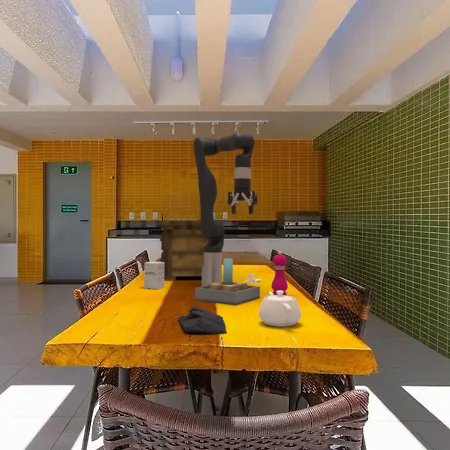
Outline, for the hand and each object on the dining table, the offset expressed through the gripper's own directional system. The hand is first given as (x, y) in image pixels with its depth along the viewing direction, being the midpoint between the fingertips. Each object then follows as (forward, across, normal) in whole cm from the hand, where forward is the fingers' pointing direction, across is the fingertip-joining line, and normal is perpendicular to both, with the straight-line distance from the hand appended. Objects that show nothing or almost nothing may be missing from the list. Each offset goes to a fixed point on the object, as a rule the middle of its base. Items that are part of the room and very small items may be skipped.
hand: (242, 214), depth 199 cm
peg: (+33, -1, +13) cm, 36 cm away
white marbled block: (+36, +44, +9) cm, 58 cm away
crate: (+36, +55, -34) cm, 74 cm away
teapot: (+36, -38, +40) cm, 66 cm away
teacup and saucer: (+37, +15, -37) cm, 55 cm away
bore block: (+36, -1, +13) cm, 38 cm away
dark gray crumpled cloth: (+37, -20, +57) cm, 71 cm away
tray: (+36, -1, +13) cm, 38 cm away
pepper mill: (+36, -16, -6) cm, 40 cm away
